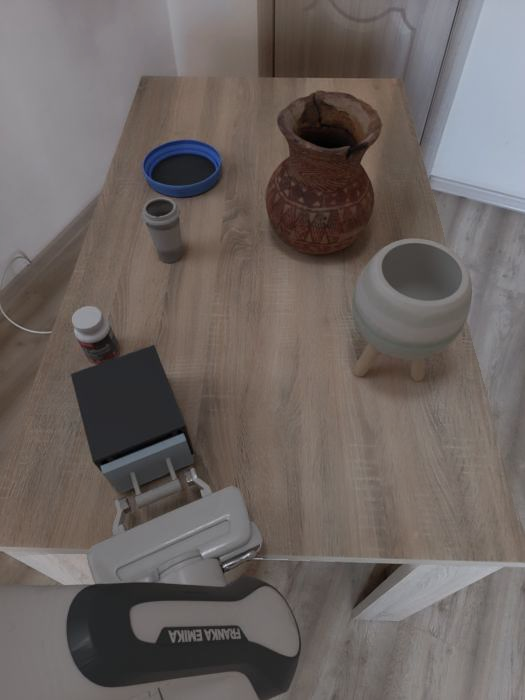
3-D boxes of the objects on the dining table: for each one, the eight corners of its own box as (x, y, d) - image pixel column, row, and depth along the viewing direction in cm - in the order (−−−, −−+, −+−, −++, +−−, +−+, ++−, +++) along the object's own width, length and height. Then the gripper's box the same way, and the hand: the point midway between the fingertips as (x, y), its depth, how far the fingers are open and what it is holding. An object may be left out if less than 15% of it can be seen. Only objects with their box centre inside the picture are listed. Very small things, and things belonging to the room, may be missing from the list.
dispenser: (194, 453, 72) (185, 425, 64) (113, 487, 70) (92, 461, 61) (166, 378, 80) (154, 344, 72) (91, 406, 77) (70, 373, 69)
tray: (205, 493, 68) (198, 473, 61) (128, 527, 65) (111, 510, 59) (166, 390, 78) (156, 363, 71) (97, 416, 75) (80, 390, 68)
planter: (450, 393, 78) (507, 306, 59) (356, 411, 76) (384, 327, 58) (413, 317, 87) (453, 221, 68) (328, 332, 85) (345, 237, 67)
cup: (150, 266, 95) (136, 219, 85) (155, 243, 98) (143, 195, 88) (186, 267, 94) (176, 219, 85) (190, 243, 98) (181, 195, 88)
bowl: (231, 158, 115) (230, 144, 112) (208, 205, 105) (207, 191, 102) (161, 147, 118) (159, 134, 115) (133, 193, 108) (129, 179, 105)
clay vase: (383, 257, 96) (415, 142, 75) (284, 279, 92) (289, 165, 72) (342, 190, 108) (360, 75, 87) (253, 208, 104) (250, 93, 84)
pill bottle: (88, 369, 81) (68, 334, 73) (86, 343, 84) (66, 307, 76) (122, 361, 82) (106, 326, 74) (118, 335, 85) (103, 299, 77)
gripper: (268, 545, 56) (226, 445, 63) (97, 626, 52) (72, 509, 59) (268, 556, 61) (229, 463, 69) (113, 631, 57) (88, 522, 64)
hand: (155, 484), depth 64 cm, fingers open, 8 cm apart
